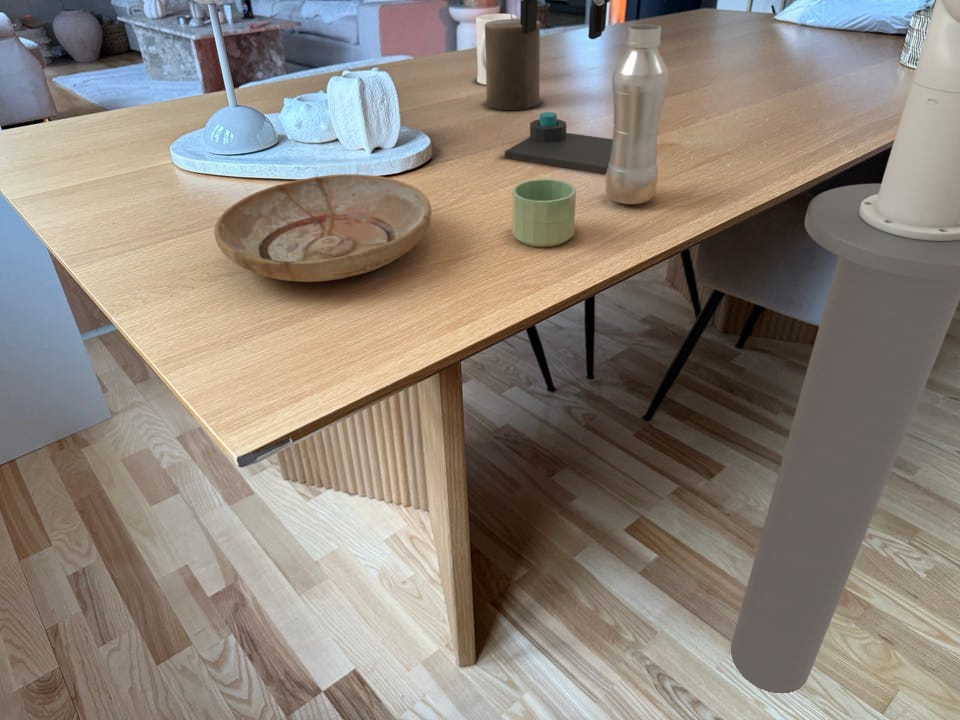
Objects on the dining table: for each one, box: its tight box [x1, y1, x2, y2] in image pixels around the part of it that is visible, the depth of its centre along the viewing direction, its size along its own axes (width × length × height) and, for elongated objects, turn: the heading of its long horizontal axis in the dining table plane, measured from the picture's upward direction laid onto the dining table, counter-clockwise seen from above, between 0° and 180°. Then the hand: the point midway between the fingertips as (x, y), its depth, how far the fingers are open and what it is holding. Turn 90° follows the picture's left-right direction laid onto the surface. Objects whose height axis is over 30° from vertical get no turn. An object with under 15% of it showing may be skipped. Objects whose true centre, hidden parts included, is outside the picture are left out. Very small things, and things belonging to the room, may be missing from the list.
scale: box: [504, 118, 613, 175], centre depth 103 cm, size 16×12×3 cm
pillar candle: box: [485, 14, 541, 111], centre depth 124 cm, size 10×10×15 cm
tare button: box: [539, 111, 558, 127], centre depth 107 cm, size 3×3×2 cm
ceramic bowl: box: [213, 173, 432, 283], centre depth 77 cm, size 23×24×5 cm
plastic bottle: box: [604, 23, 669, 205], centre depth 83 cm, size 6×7×20 cm
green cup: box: [511, 178, 577, 248], centre depth 79 cm, size 7×7×6 cm
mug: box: [475, 13, 518, 86], centre depth 140 cm, size 12×8×12 cm
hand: (561, 34), depth 94 cm, fingers open, 9 cm apart
